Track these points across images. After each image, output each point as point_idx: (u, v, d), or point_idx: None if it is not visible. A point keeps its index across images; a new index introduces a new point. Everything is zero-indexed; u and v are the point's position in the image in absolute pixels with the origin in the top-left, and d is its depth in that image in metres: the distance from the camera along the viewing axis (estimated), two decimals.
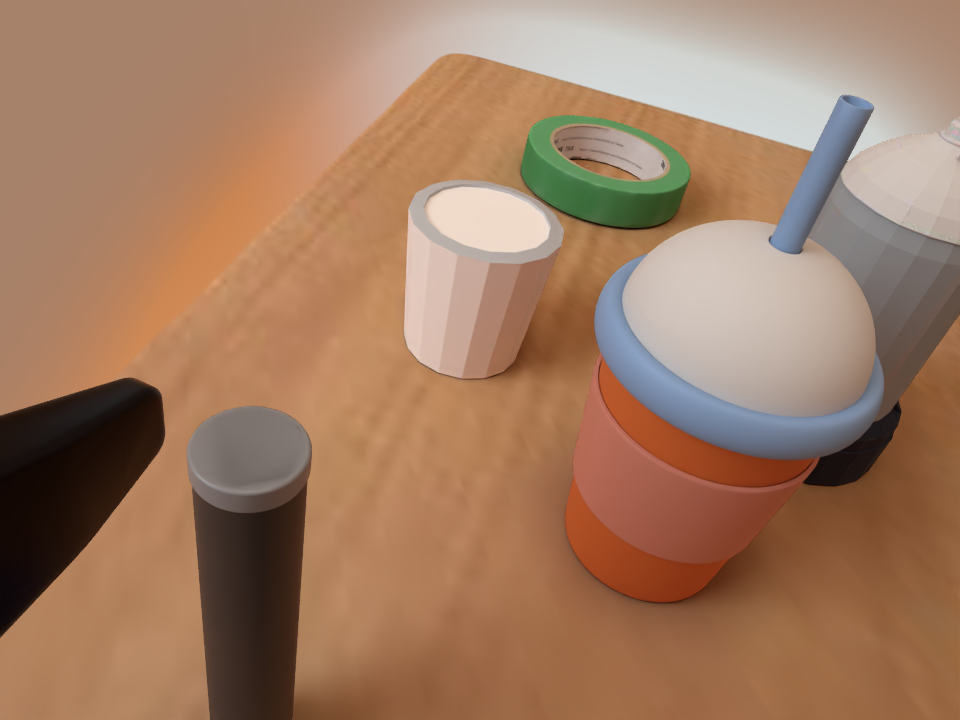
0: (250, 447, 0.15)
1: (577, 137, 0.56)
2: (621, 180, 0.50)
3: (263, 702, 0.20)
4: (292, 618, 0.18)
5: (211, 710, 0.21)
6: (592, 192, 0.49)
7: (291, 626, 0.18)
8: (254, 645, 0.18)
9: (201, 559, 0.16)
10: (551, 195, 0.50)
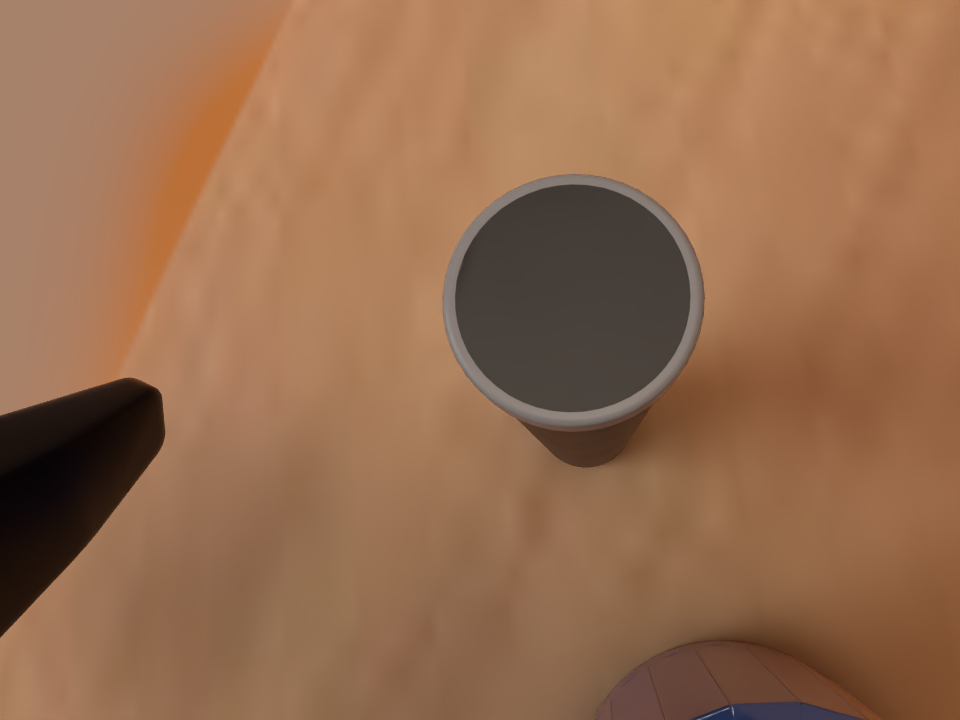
0: (570, 298, 0.07)
1: None
2: None
3: (603, 456, 0.15)
4: None
5: None
6: None
7: None
8: (589, 451, 0.12)
9: None
10: None
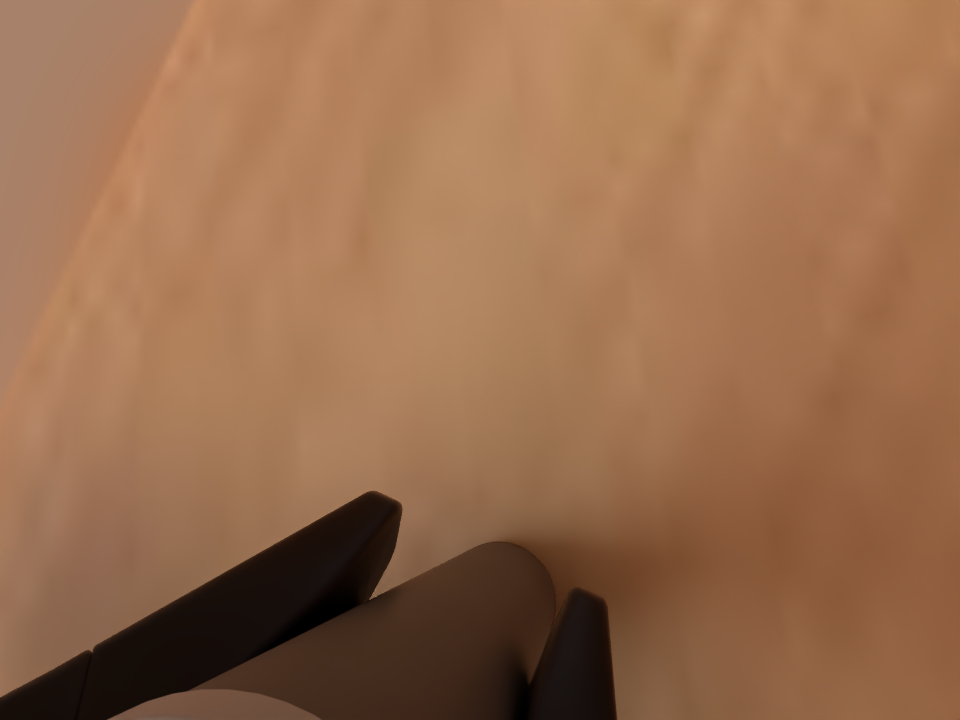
0: None
1: None
2: None
3: None
4: None
5: None
6: None
7: None
8: None
9: None
10: None
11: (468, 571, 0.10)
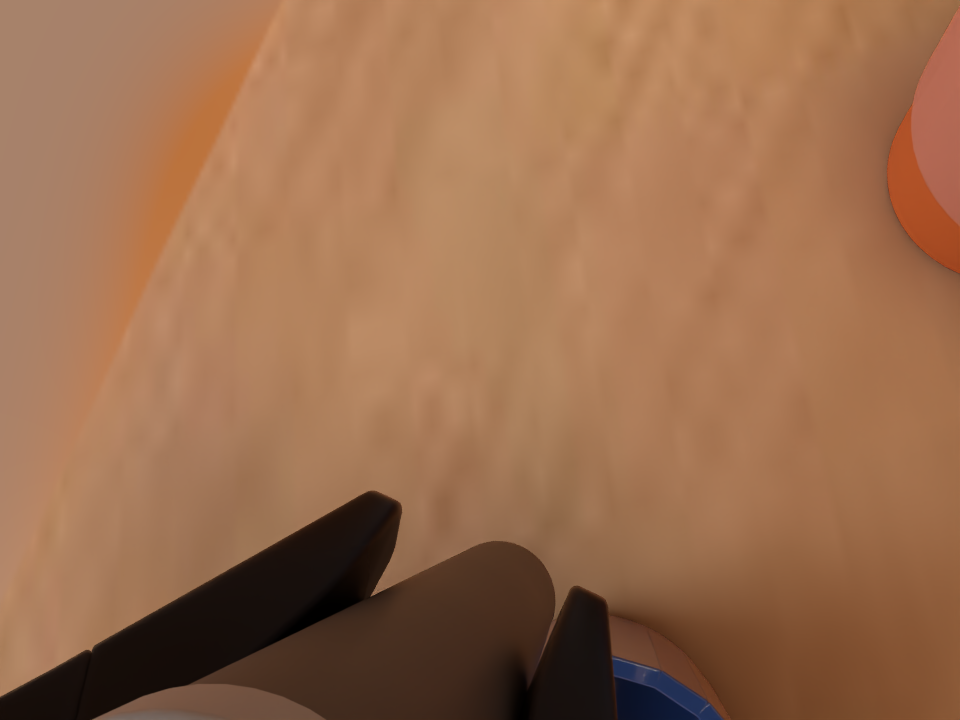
0: None
1: None
2: None
3: None
4: None
5: None
6: None
7: None
8: None
9: None
10: None
11: (467, 569, 0.10)
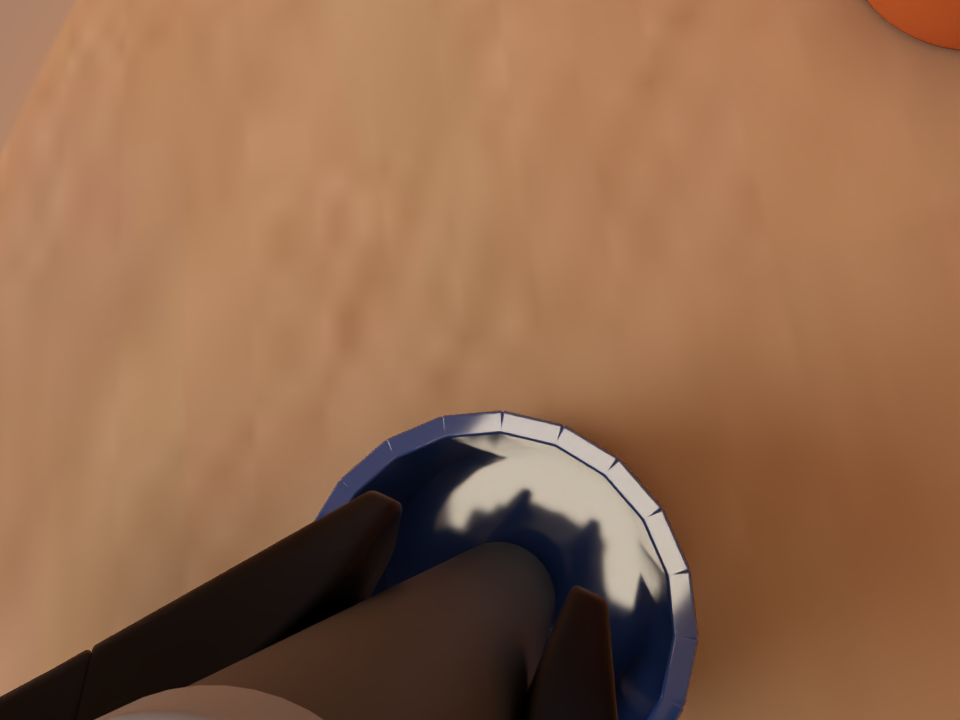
0: None
1: None
2: None
3: None
4: None
5: None
6: None
7: None
8: None
9: None
10: None
11: (467, 570, 0.10)
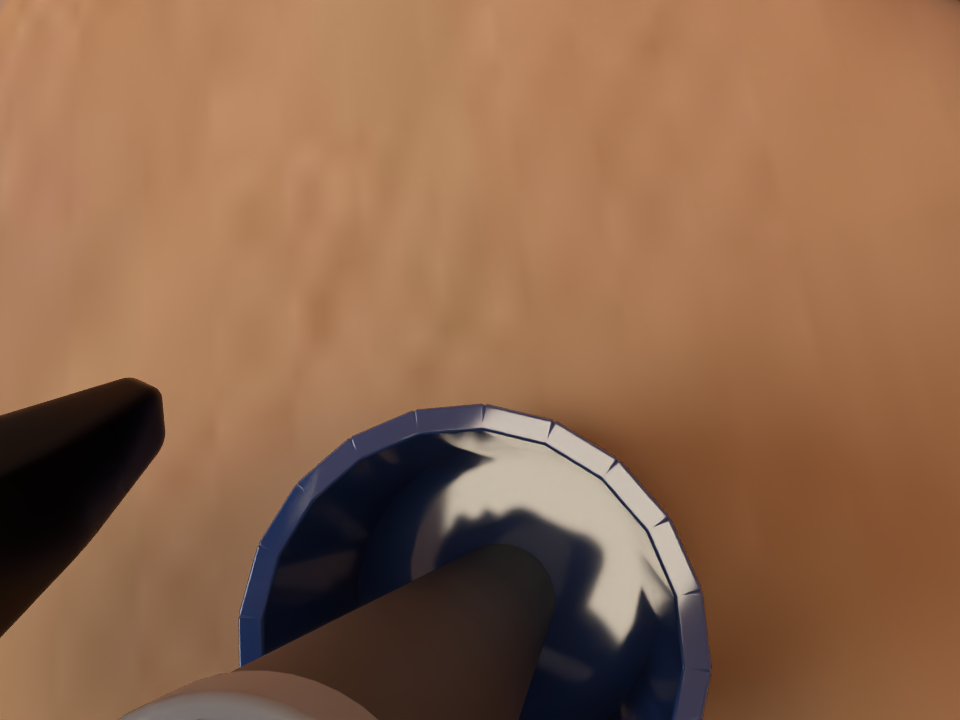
0: None
1: None
2: None
3: None
4: None
5: None
6: None
7: None
8: None
9: None
10: None
11: (471, 571, 0.11)
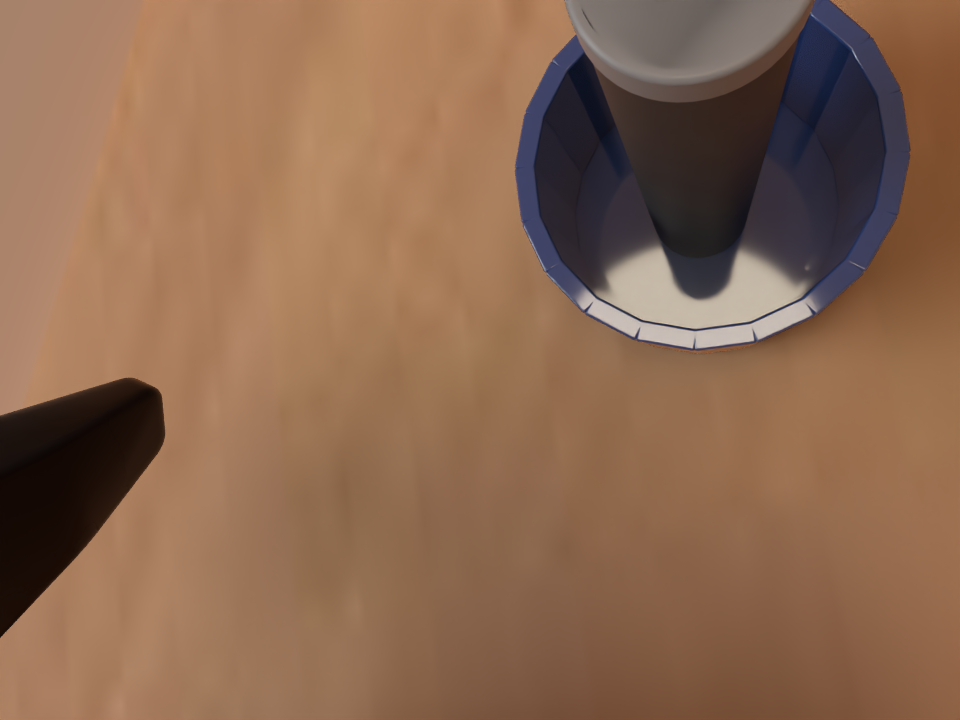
0: None
1: None
2: None
3: (720, 223, 0.15)
4: (764, 151, 0.12)
5: (650, 215, 0.16)
6: None
7: (761, 158, 0.12)
8: (708, 195, 0.12)
9: (618, 123, 0.10)
10: None
11: None
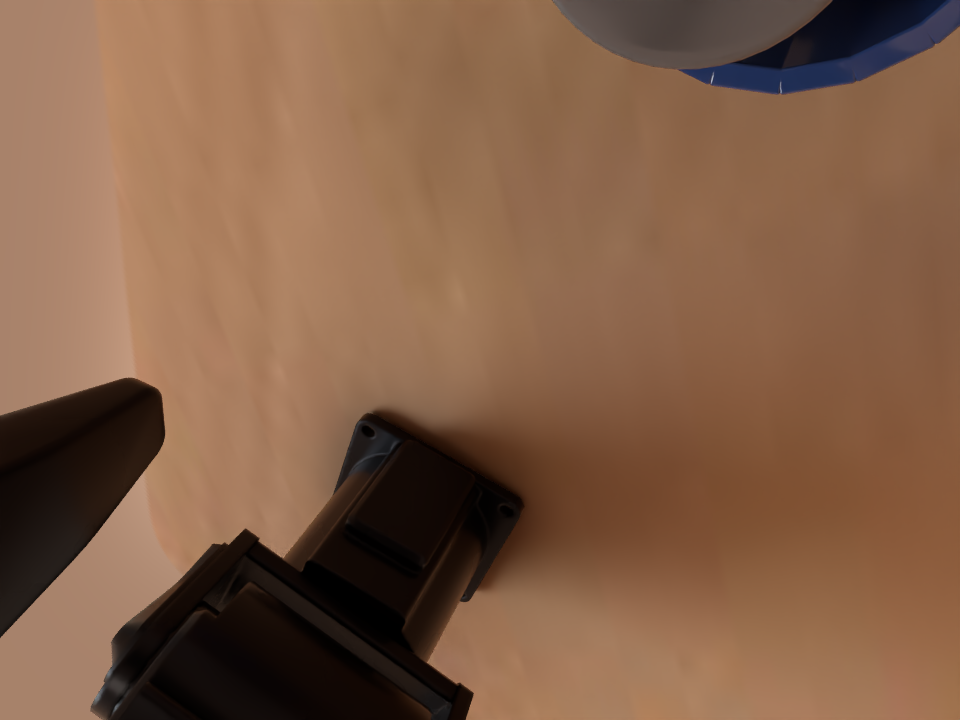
0: None
1: None
2: None
3: None
4: None
5: None
6: None
7: None
8: None
9: None
10: None
11: None
